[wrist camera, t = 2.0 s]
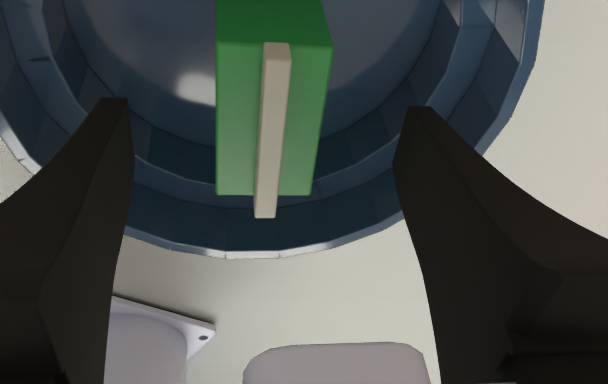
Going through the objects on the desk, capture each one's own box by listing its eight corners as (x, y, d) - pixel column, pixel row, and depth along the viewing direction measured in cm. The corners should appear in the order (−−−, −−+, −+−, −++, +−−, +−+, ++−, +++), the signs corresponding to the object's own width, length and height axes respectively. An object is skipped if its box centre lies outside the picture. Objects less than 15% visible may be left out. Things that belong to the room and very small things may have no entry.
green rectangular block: (216, 72, 22) (215, 219, 16) (216, -72, 18) (215, 57, 13) (292, 75, 22) (316, 218, 17) (308, -65, 18) (343, 62, 13)
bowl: (306, 215, 28) (318, 301, 25) (-54, 63, 21) (-110, 155, 17) (580, -62, 20) (658, 8, 16) (144, -489, 12) (113, -532, 9)
